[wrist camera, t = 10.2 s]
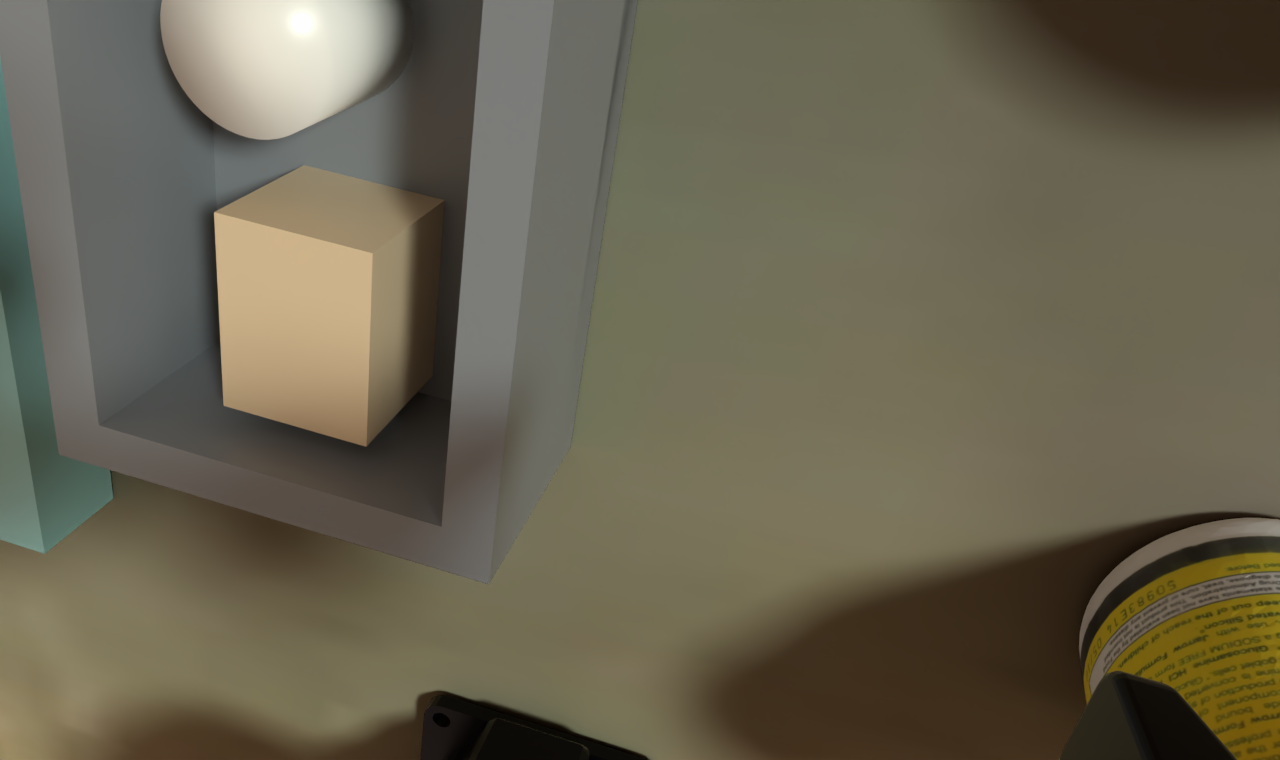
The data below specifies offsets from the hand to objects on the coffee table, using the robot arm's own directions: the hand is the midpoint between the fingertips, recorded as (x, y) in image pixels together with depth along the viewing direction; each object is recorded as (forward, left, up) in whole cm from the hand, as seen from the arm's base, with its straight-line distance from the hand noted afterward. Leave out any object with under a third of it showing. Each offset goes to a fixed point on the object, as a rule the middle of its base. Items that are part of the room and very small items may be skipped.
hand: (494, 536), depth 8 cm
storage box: (-2, +7, -13) cm, 15 cm away
